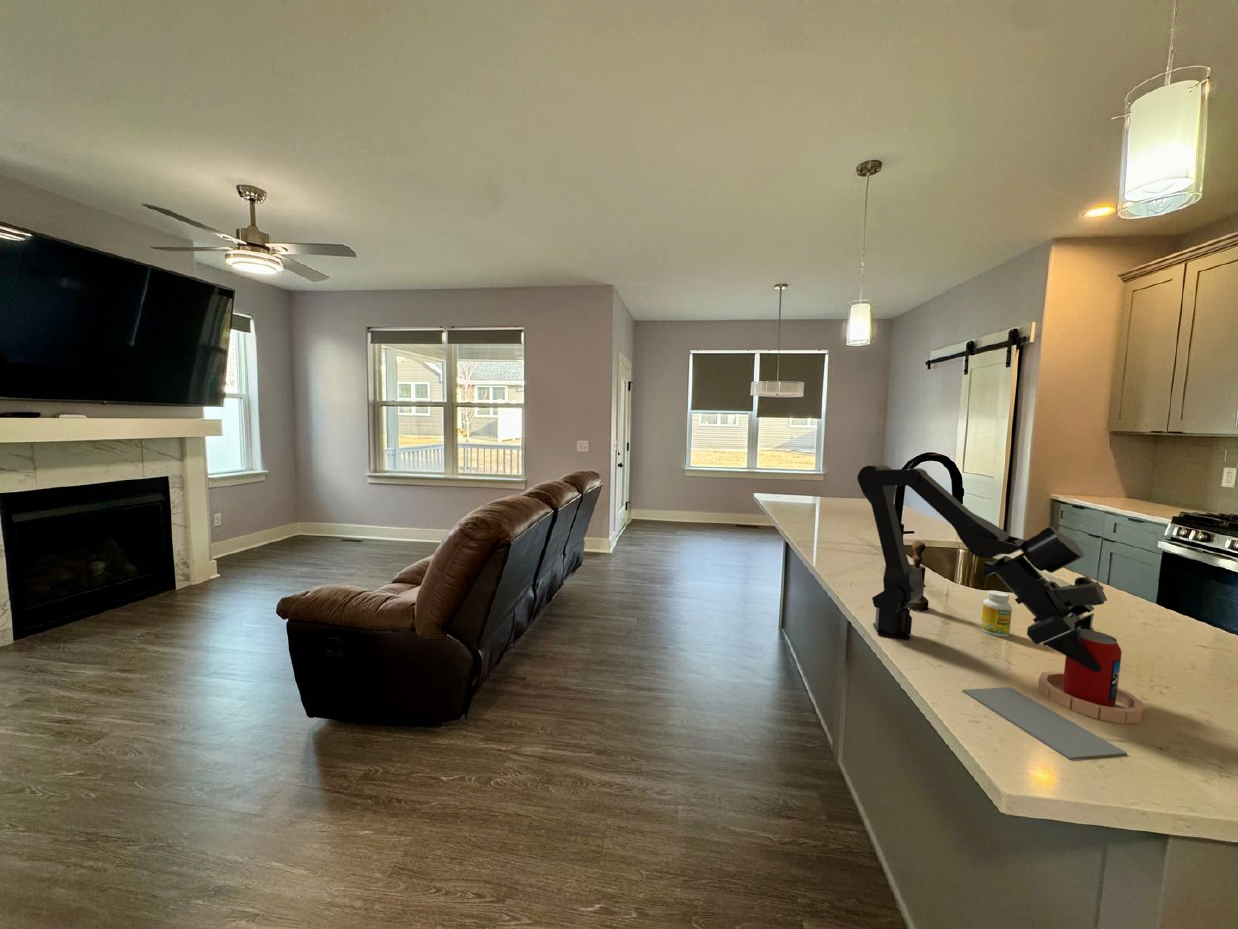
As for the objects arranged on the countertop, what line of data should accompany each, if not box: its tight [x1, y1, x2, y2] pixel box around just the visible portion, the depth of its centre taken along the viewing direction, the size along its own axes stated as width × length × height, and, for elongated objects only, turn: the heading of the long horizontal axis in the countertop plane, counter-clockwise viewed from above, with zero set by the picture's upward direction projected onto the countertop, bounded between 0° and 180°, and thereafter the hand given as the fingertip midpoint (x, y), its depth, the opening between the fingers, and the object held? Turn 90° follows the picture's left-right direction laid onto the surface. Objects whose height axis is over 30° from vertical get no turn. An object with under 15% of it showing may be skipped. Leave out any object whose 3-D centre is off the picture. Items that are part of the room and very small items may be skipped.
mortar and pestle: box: [907, 540, 929, 612], centre depth 129 cm, size 7×6×18 cm
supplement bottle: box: [980, 590, 1013, 638], centre depth 114 cm, size 5×5×10 cm
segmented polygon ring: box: [1037, 670, 1144, 725], centre depth 85 cm, size 13×13×2 cm
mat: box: [961, 686, 1128, 760], centre depth 79 cm, size 18×10×1 cm, turn 9°
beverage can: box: [1062, 629, 1122, 708], centre depth 85 cm, size 7×7×12 cm
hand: (1103, 665), depth 83 cm, fingers closed on beverage can, 7 cm apart
